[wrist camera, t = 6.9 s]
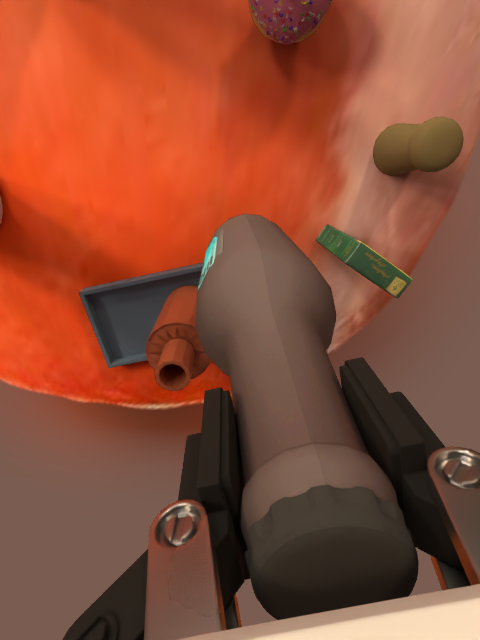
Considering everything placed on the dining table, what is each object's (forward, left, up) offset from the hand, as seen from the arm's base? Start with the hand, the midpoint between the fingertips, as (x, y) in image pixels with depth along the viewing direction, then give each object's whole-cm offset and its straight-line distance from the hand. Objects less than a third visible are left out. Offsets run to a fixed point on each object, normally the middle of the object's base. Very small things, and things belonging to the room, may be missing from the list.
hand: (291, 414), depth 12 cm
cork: (+21, +5, -41) cm, 47 cm away
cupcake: (+9, +22, -41) cm, 48 cm away
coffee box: (+13, -6, -41) cm, 44 cm away
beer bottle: (0, 0, -25) cm, 25 cm away
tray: (-10, -10, -41) cm, 43 cm away
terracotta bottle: (-10, -10, -40) cm, 43 cm away
